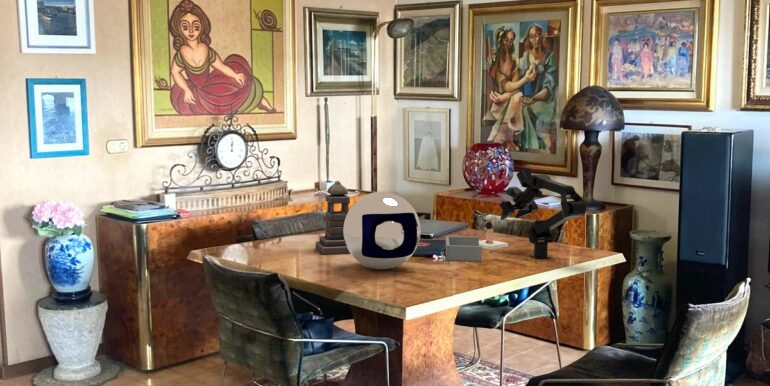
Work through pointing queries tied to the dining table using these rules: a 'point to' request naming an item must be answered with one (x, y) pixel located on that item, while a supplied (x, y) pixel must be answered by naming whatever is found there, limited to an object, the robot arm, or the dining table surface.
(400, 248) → the spherical light
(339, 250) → the miniature tower
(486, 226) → the grandmother figurine
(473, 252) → the open crate
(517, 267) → the dining table surface
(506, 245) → the ceramic tile
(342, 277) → the dining table surface
